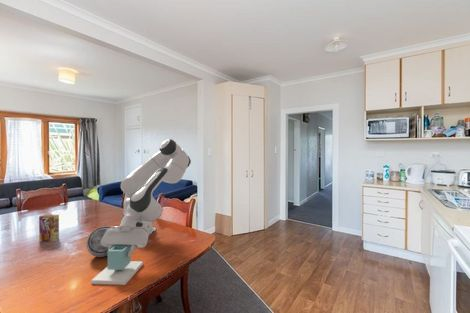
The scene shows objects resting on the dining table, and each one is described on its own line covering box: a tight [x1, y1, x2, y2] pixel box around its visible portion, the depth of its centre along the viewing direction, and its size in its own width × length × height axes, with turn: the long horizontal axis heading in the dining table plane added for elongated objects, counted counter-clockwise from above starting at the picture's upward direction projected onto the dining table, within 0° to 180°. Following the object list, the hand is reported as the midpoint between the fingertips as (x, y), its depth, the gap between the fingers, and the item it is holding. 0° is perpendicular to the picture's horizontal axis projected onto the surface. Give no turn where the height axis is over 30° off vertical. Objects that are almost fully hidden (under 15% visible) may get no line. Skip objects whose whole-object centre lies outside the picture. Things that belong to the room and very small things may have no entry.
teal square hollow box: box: [107, 245, 132, 270], centre depth 98 cm, size 7×7×8 cm
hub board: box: [90, 260, 144, 286], centre depth 98 cm, size 16×14×2 cm
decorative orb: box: [86, 225, 111, 258], centre depth 115 cm, size 15×14×15 cm
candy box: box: [38, 214, 60, 243], centre depth 133 cm, size 9×4×15 cm, turn 89°
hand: (118, 256), depth 97 cm, fingers closed on teal square hollow box, 7 cm apart
